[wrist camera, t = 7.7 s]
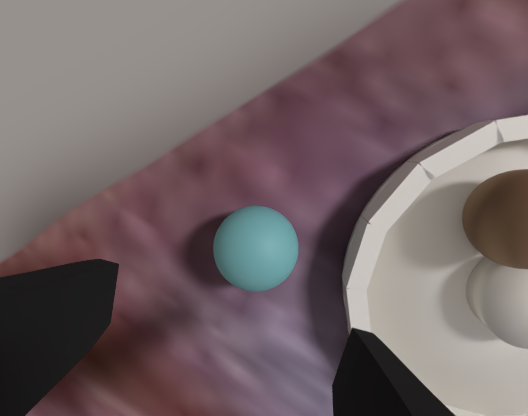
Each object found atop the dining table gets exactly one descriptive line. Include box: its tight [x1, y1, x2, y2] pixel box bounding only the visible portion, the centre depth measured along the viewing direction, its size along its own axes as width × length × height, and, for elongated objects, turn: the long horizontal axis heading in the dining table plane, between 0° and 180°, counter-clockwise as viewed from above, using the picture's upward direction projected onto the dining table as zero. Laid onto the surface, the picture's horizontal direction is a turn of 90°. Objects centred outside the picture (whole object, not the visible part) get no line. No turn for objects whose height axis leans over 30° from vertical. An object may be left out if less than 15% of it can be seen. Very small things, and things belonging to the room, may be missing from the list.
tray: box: [342, 115, 528, 416], centre depth 16 cm, size 18×18×2 cm
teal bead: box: [213, 206, 298, 292], centre depth 16 cm, size 4×4×4 cm
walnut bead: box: [462, 169, 528, 269], centre depth 14 cm, size 4×4×4 cm
